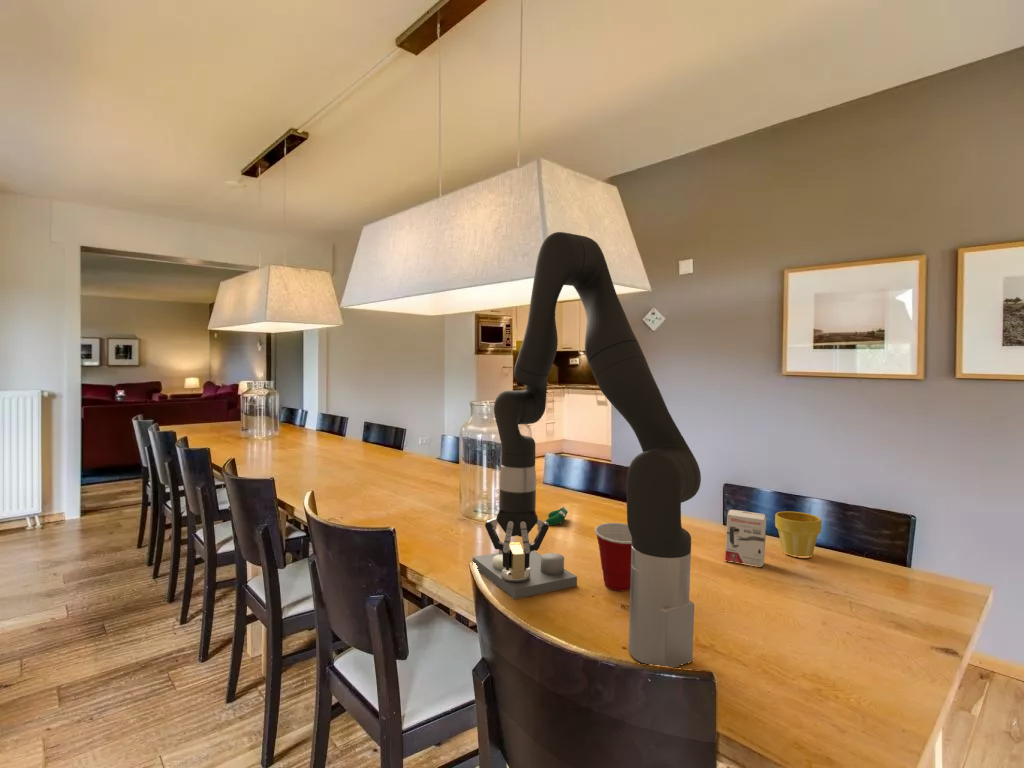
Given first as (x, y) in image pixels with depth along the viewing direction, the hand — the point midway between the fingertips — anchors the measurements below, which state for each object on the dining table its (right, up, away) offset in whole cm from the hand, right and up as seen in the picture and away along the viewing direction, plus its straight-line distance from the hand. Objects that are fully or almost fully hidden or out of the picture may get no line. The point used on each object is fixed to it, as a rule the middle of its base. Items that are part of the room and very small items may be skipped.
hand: (516, 568), depth 112 cm
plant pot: (+71, -5, +24) cm, 75 cm away
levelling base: (+1, -4, +7) cm, 8 cm away
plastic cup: (+22, -5, +2) cm, 22 cm away
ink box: (+55, -5, +18) cm, 58 cm away
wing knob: (0, -2, 0) cm, 2 cm away
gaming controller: (+12, -3, +49) cm, 50 cm away
